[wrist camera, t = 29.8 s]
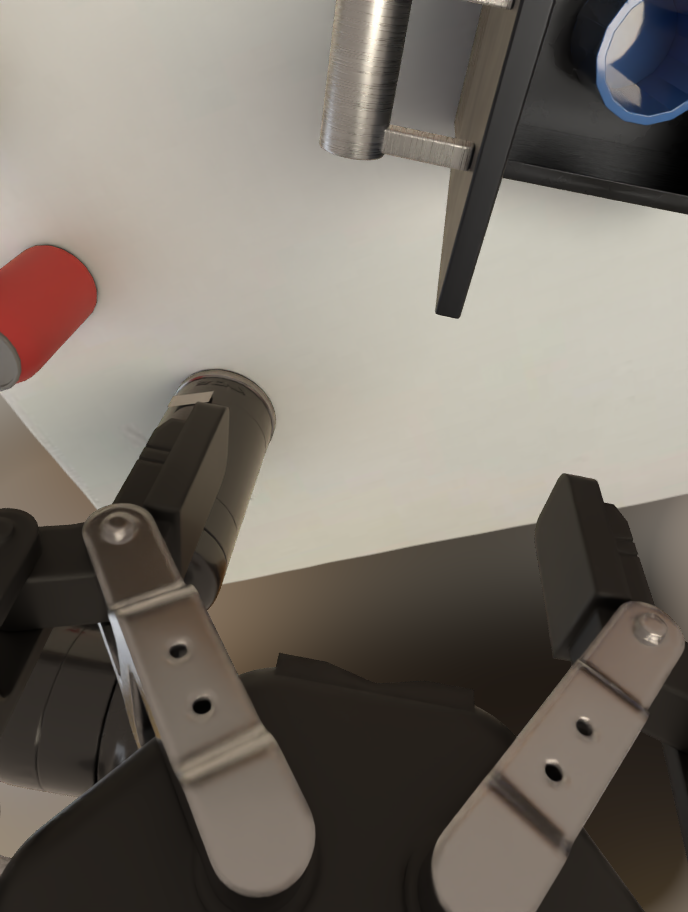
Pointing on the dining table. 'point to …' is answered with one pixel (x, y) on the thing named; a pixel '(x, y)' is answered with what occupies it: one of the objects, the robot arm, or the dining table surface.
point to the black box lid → (470, 156)
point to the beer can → (40, 309)
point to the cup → (634, 57)
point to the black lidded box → (586, 132)
